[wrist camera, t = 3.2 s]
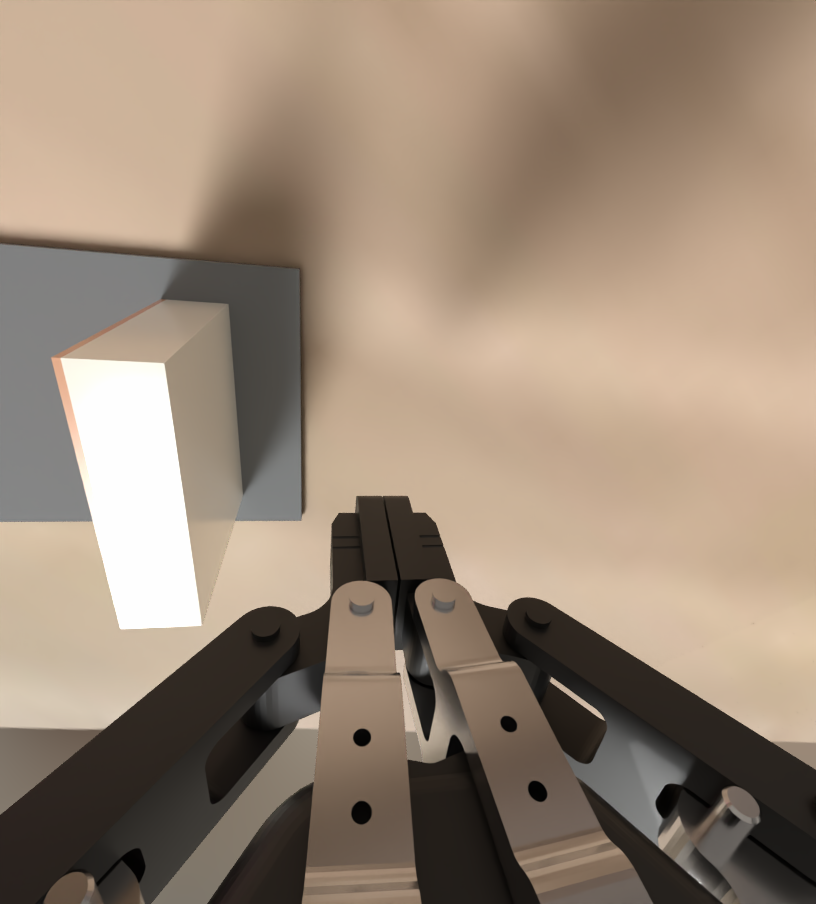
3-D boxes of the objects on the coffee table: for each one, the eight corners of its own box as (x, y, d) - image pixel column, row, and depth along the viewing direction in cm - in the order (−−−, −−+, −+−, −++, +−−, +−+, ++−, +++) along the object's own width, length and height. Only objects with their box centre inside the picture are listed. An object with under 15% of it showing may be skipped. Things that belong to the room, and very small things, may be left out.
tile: (228, 303, 18) (164, 363, 11) (243, 495, 23) (202, 625, 16) (160, 298, 18) (50, 357, 11) (187, 495, 22) (120, 628, 15)
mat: (299, 268, 19) (299, 269, 18) (301, 516, 24) (301, 520, 24) (-112, 233, 16) (-122, 233, 16) (-7, 516, 22) (-12, 521, 21)
